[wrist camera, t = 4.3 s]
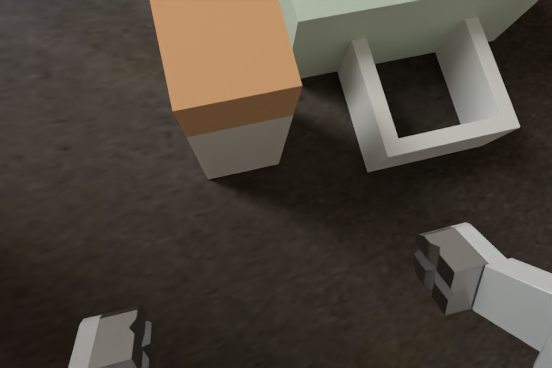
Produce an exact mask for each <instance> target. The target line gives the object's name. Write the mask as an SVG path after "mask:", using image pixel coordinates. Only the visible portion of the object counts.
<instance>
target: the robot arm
mask: <svg viewBox="0 0 552 368" xmlns="http://www.w3.org/2000/svg"><path fill="white" fill-rule="evenodd" d="M416 246H417V247H418V248H419V250H418V251H417V252H416V253H415V254H414V262H413V263H414V267H415V272H416V274H417V276H418V278H419V279H420V281H421V282H422V284H423V285H424V286H426V287H428V288H430V289H432V298H433V299H434V301H435V302H436V303H437V305H438V306H439V308H440V309H441V310H442V312H443V313H444V314H445V315H447V314H451V313H455V312H459V311H463V310H467V309H471V308H473V309H472V310H473V311H475V312H477V313H478V314H480V315H482V316H483V317H485V318H486V319H488V320H490V321H491V322H493V323H494V324H496V325H498V326H499V327H501V328H503V329H504V330H506V331H507V332H509V333H511V334H512V335H514V336H515V337H517V338H519V339H520V340H522V341H524V342H525V343H527V344H528V345H530V346H532V347H533V348H535V349H536V350H538V351H540V353H539V355H538V357H537V358H536V360H535V362H534V364H533V368H552V274H551V273H549V272H546V271H544V270H541V269H539V268H536V267H534V266H531V265H528V264H526V263H523V262H521V261H518V260H516V259H513V258H510V259H506V258H505V257H504V256H503V255H502V254H501V253H500V252H499V251H498V250H497V249H496V248H495V247H494V246H493V245H492V244H491V243H490V242H489V241H488V240H487V239H486V238H484V237H483V236H482V235H481V234H480V233H479V232H478V231H477V230H476V229H475V228H474V227H473V226H472V225H471V224H469V223H466V222H465V223H462V224H458V225H454V226H450V227H445V228H442V229H438V230H434V231H430V232H427V233H423V234H419V235H418V237H417V238H416ZM157 352H158V345H157V336H156V333H155V329H154V327H153V325H152V323H151V322H148V321H146V311H145V310H144V308H143V306H136V307H131V308H127V309H123V310H118V311H114V312H109V313H105V314H101V315H97V316H93V317H89V318H84V319H83V320H82V322H81V323H80V325H79V329H78V333H77V336H76V340H75V344H74V348H73V351H72V355H71V359H70V363H69V367H68V368H154V367H153V365H152V364H153V362H154V361H155V359H156V358H157Z"/></svg>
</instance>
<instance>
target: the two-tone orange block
mask: <svg viewBox="0 0 552 368" xmlns="http://www.w3.org/2000/svg"><path fill="white" fill-rule="evenodd" d="M150 3H151V8H152V13H153V18H154V23H155V28H156V33H157V38H158V42H159V47H160V52H161V57H162V62H163V67H164V72H165V77H166V81H167V86H168V91H169V96H170V101H171V106H172V111H173V113H174V115H175V117H176V119H177V121H178V123H179V124H180V126H181V128H182V130H183V132H184V134H185V136H186V138H187V140H188V142H189V144H190V145H191V147H192V149H193V151H194V153H195V155H196V157H197V159H198V161H199V163H200V165H201V166H202V168H203V170H204V172H205V174H206V176H207V178H208V180H209V179H213V178H218V177H222V176H227V175H231V174H236V173H240V172H245V171H249V170H254V169H258V168H263V167H267V166H272V165H276V164H279V161H280V158H281V154H282V151H283V148H284V145H285V141H286V138H287V135H288V131H289V128H290V125H291V122H292V118H293V115H294V112H295V108H296V105H297V102H298V98H299V95H300V92H301V89H302V82H301V79H300V75H299V72H298V68H297V64H296V61H295V57H294V53H293V50H292V46H291V43H290V39H289V35H288V32H287V28H286V25H285V21H284V17H283V14H282V10H281V7H280V3H279V0H150Z"/></svg>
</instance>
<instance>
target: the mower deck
mask: <svg viewBox="0 0 552 368" xmlns="http://www.w3.org/2000/svg"><path fill="white" fill-rule="evenodd" d="M537 1H538V0H279V3H280V7H281V10H282V14H283V17H284V21H285V25H286V28H287V32H288V35H289V39H290V43H291V46H292V50H293V53H294V57H295V61H296V64H297V68H298V72H299V75H300V79H301V78H306V77H311V76H316V75H321V74H327V73H332V72H338V76H339V79H340V82H341V86H342V89H343V92H344V96H345V99H346V102H347V106H348V109H349V112H350V116H351V119H352V123H353V126H354V129H355V133H356V136H357V139H358V143H359V146H360V149H361V153H362V156H363V159H364V163H365V166H366V170H367V172H372V171H376V170H380V169H385V168H389V167H393V166H398V165H402V164H406V163H411V162H415V161H419V160H424V159H428V158H432V157H436V156H441V155H445V154H449V153H454V152H458V151H462V150H467V149H471V148H475V147H480V146H483V145H485V144H487V143H489V142H491V141H493V140H495V139H497V138H499V137H501V136H503V135H505V134H507V133H510V132H512V131H514V130H516V129H518V128H520V125H519V122H518V119H517V117H516V114H515V112H514V109H513V106H512V104H511V101H510V99H509V96H508V93H507V91H506V88H505V86H504V83H503V80H502V78H501V75H500V73H499V70H498V67H497V65H496V62H495V60H494V57H493V54H492V52H491V49H490V46H489V44H488V42H490V41H494V40H495V39H496V38H497V37H498V36H499V35H500V34H501V33H503V32H504V31H505V30H506V29H507V28H508V27H509V26H510V25H511V24H513V23H514V22H515V21H516V20H517V19H518V18H519V17H520V16H522V15H523V14H524V13H525V12H526V11H527V10H528V9H529V8H530V7H532V6H533V5H534V4H535V3H536V2H537ZM434 52H435V53H436V56H437V59H438V62H439V64H440V67H441V70H442V73H443V76H444V79H445V81H446V84H447V87H448V90H449V93H450V96H451V98H452V101H453V104H454V107H455V110H456V113H457V115H458V118H459V121H460V124H461V125H457V126H453V127H448V128H444V129H439V130H435V131H430V132H426V133H421V134H417V135H412V136H408V137H403V138H399V139H398V136H397V132H396V129H395V126H394V123H393V120H392V117H391V114H390V111H389V107H388V104H387V101H386V98H385V95H384V92H383V89H382V85H381V82H380V79H379V76H378V73H377V70H376V67H375V64H378V63H383V62H388V61H393V60H398V59H403V58H408V57H413V56H418V55H423V54H429V53H434Z"/></svg>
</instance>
